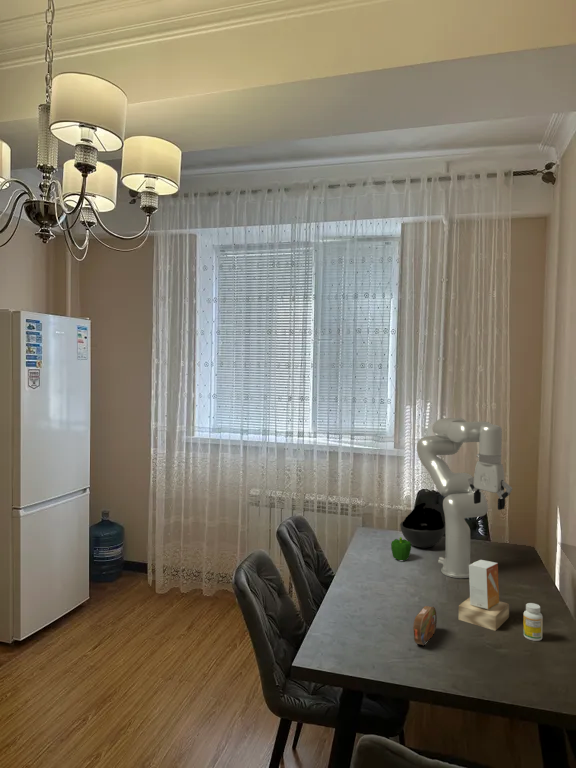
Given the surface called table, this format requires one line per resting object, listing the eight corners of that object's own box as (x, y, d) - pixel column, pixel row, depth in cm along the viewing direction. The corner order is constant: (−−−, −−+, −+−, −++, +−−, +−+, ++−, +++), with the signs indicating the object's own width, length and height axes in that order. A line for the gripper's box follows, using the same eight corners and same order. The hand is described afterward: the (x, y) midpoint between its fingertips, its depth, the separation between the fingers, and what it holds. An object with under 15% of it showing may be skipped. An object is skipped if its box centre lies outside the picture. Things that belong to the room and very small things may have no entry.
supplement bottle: (538, 643, 165) (538, 611, 165) (520, 636, 169) (520, 605, 168) (545, 637, 168) (545, 605, 168) (527, 631, 172) (528, 600, 172)
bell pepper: (396, 554, 244) (396, 532, 244) (413, 558, 240) (413, 535, 239) (387, 560, 238) (387, 537, 237) (405, 564, 233) (405, 540, 232)
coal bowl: (431, 556, 241) (431, 513, 241) (391, 547, 255) (391, 506, 254) (452, 546, 256) (452, 505, 256) (414, 537, 270) (414, 498, 269)
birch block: (458, 620, 181) (458, 605, 180) (473, 608, 190) (473, 594, 190) (495, 632, 173) (495, 616, 173) (508, 618, 182) (509, 603, 182)
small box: (488, 609, 176) (486, 568, 176) (469, 605, 181) (468, 564, 181) (500, 602, 182) (498, 562, 182) (481, 598, 186) (480, 559, 187)
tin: (422, 650, 161) (421, 621, 161) (411, 647, 163) (411, 619, 162) (437, 629, 174) (437, 603, 174) (427, 627, 175) (427, 601, 175)
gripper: (463, 456, 204) (462, 502, 205) (505, 464, 190) (504, 513, 191) (475, 454, 209) (474, 499, 210) (518, 461, 195) (516, 509, 196)
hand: (488, 506), depth 201 cm, fingers open, 9 cm apart
